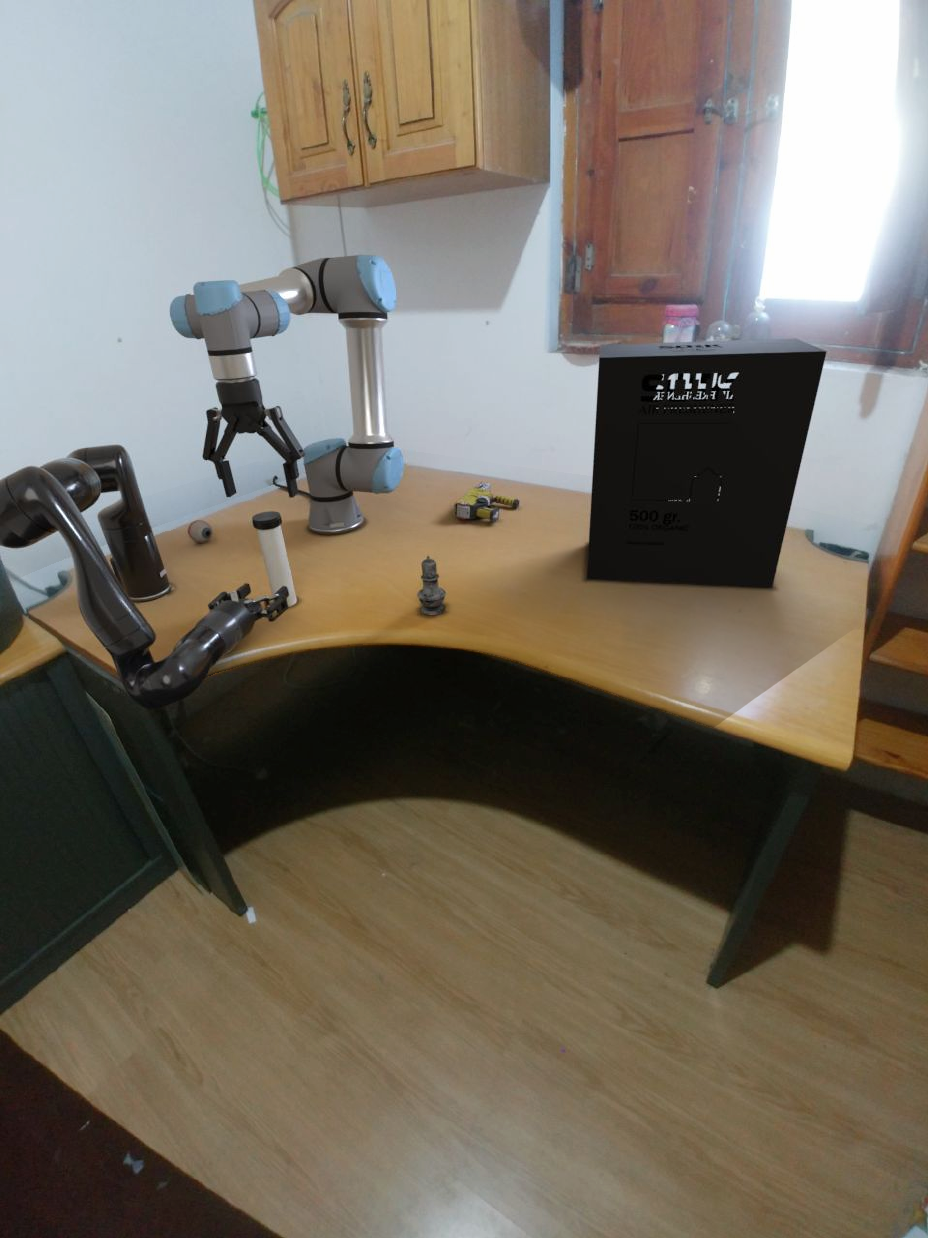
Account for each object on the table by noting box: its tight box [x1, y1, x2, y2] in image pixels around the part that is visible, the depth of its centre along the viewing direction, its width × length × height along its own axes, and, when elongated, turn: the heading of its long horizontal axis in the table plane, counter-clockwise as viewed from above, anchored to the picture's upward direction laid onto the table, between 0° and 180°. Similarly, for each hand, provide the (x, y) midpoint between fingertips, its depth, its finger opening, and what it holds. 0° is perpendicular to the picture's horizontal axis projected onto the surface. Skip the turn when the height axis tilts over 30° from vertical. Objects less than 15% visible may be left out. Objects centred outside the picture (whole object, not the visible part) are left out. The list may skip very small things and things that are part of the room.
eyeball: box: [187, 519, 213, 544], centre depth 162 cm, size 6×6×6 cm
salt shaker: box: [416, 555, 447, 616], centre depth 121 cm, size 6×6×12 cm
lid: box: [251, 510, 283, 530], centre depth 121 cm, size 6×6×2 cm
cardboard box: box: [586, 338, 828, 589], centre depth 126 cm, size 38×20×45 cm, turn 78°
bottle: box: [256, 524, 298, 608], centre depth 125 cm, size 5×5×19 cm
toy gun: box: [453, 481, 520, 524], centre depth 173 cm, size 5×24×15 cm
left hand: (267, 588), depth 123 cm, fingers open, 8 cm apart
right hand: (262, 495), depth 118 cm, fingers open, 12 cm apart
